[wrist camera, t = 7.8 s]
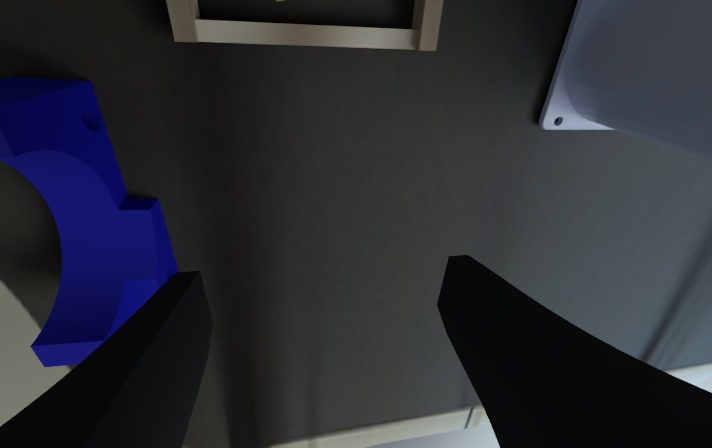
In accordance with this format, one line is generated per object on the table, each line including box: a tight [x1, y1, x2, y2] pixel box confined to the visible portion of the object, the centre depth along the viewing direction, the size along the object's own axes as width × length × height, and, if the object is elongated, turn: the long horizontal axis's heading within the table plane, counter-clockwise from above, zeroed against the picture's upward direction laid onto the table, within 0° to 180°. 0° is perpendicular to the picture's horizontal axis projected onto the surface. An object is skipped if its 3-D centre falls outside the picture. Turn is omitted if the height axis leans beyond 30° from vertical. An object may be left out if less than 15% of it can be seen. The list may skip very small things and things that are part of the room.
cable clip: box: [0, 77, 178, 367], centre depth 16 cm, size 12×4×6 cm, turn 176°
